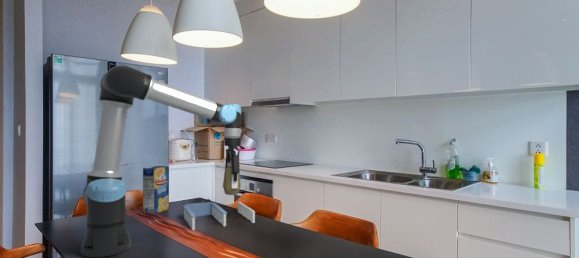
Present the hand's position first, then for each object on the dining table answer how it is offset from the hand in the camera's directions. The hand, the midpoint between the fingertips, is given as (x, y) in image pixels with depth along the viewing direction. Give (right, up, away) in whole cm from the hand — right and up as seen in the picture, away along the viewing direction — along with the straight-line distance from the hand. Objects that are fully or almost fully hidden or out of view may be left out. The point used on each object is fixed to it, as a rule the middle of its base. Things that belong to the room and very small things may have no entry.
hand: (231, 186), depth 158 cm
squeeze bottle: (0, -4, 0) cm, 4 cm away
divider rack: (-6, -15, -3) cm, 16 cm away
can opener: (-18, -15, +12) cm, 26 cm away
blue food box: (-41, -15, +15) cm, 46 cm away
